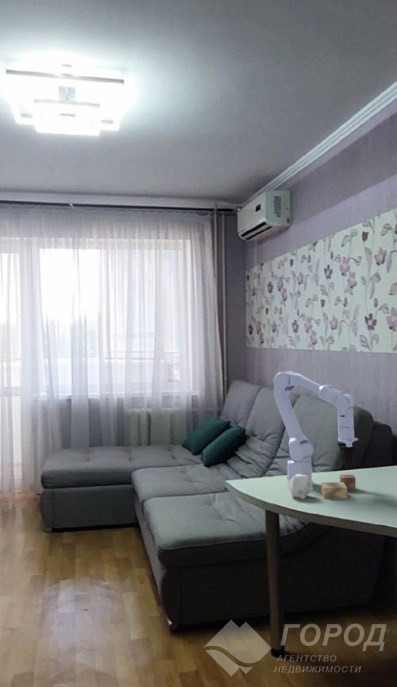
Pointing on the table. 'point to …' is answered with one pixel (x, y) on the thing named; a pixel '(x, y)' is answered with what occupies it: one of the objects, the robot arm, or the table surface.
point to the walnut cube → (349, 482)
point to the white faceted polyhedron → (300, 486)
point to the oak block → (334, 490)
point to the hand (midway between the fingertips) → (347, 463)
